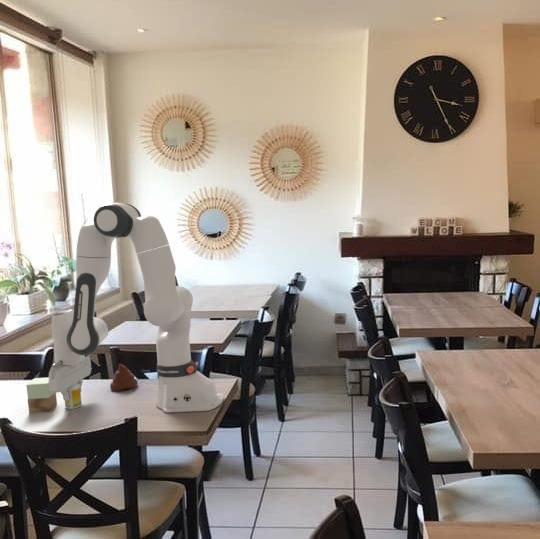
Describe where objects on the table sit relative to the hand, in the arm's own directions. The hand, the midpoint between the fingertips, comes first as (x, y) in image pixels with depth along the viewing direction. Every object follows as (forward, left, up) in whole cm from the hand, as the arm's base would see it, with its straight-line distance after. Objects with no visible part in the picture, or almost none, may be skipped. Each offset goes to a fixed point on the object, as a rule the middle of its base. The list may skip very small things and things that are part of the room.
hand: (72, 396), depth 198 cm
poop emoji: (-8, -20, -4) cm, 22 cm away
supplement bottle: (0, 0, -4) cm, 4 cm away
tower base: (+10, +3, -4) cm, 11 cm away
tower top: (+10, +3, +1) cm, 10 cm away
